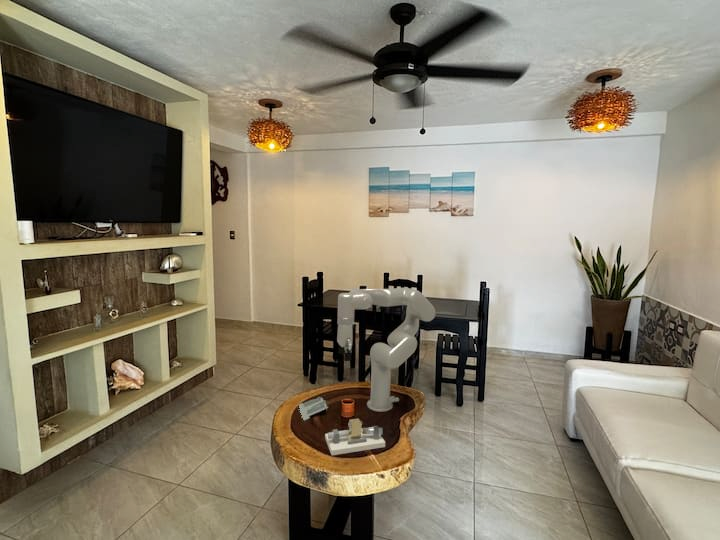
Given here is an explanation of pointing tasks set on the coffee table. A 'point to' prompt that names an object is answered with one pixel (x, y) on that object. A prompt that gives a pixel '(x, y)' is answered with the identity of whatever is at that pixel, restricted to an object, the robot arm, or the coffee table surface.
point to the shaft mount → (351, 442)
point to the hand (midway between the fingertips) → (344, 357)
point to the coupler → (355, 429)
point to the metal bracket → (312, 407)
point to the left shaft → (373, 431)
